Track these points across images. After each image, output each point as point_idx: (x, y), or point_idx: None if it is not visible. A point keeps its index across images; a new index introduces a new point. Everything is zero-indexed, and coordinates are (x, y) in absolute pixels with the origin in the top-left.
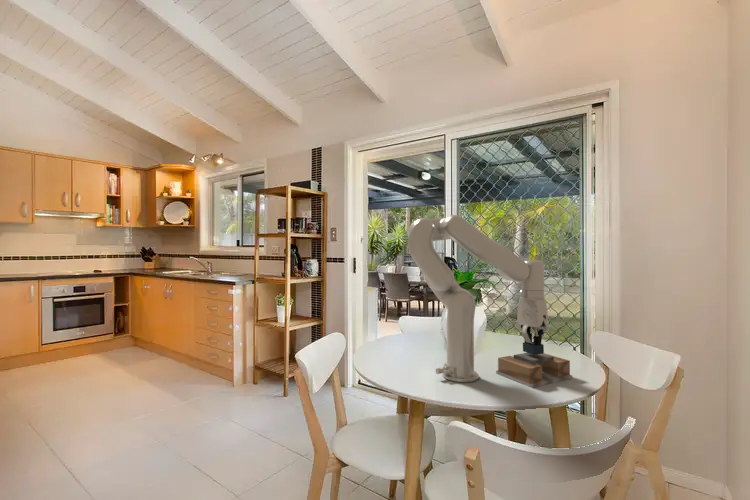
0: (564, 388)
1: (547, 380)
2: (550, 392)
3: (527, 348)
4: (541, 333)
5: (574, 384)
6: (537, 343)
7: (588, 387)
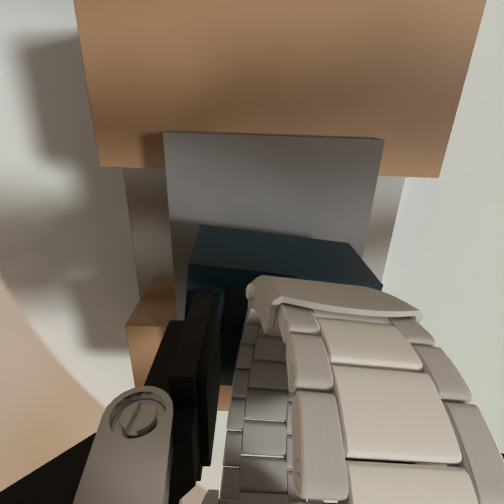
0: (50, 198)
1: (132, 186)
2: (14, 69)
3: (293, 252)
4: (40, 479)
5: (84, 285)
6: (177, 325)
7: (34, 303)
